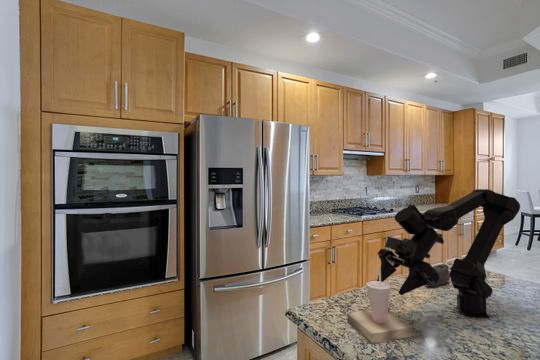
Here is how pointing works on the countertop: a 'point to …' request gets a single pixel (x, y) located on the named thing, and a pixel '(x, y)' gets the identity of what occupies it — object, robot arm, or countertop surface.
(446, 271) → the perforated stone tool
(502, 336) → the countertop surface
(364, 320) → the plinth
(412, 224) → the robot arm
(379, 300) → the smoothie
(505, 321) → the countertop surface
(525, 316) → the countertop surface
